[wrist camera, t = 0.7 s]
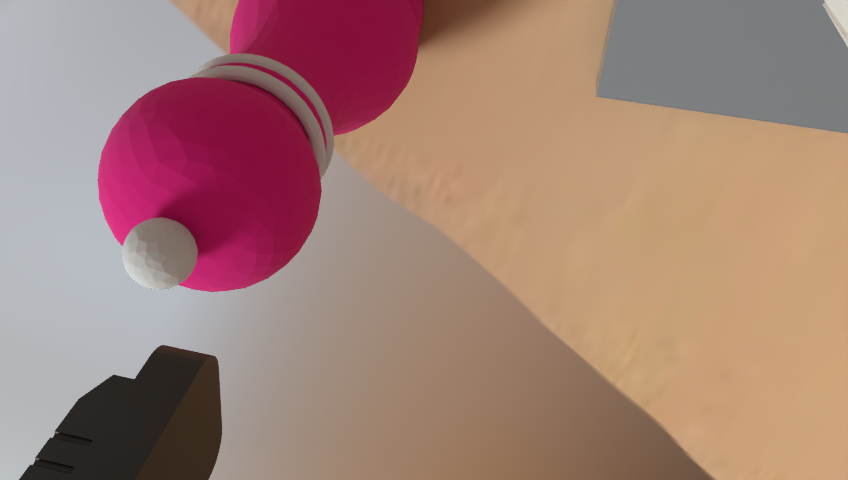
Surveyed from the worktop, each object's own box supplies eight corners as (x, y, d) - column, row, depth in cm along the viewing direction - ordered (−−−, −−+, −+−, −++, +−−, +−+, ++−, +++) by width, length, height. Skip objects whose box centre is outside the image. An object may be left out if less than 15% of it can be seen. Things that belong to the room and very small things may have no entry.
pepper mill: (366, 110, 38) (192, 425, 22) (245, 4, 36) (-45, 263, 20) (469, 3, 34) (351, 287, 18) (340, -122, 32) (77, 71, 16)
